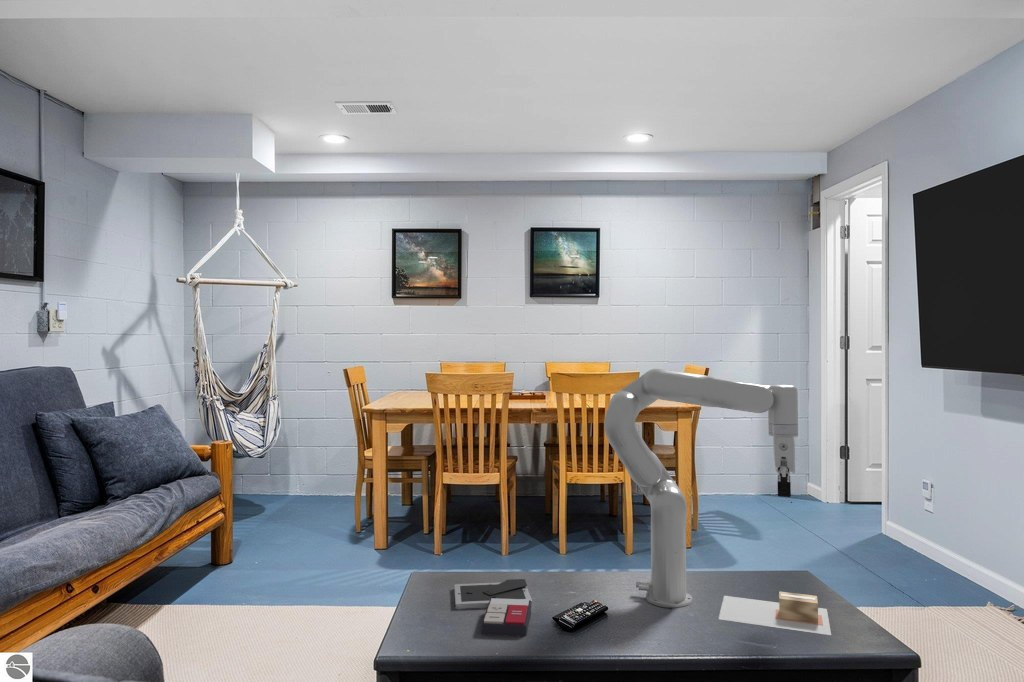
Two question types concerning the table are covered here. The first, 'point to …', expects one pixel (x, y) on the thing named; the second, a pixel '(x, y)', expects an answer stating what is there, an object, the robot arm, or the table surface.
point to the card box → (798, 607)
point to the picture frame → (489, 593)
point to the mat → (768, 615)
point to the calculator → (507, 617)
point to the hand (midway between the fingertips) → (784, 493)
